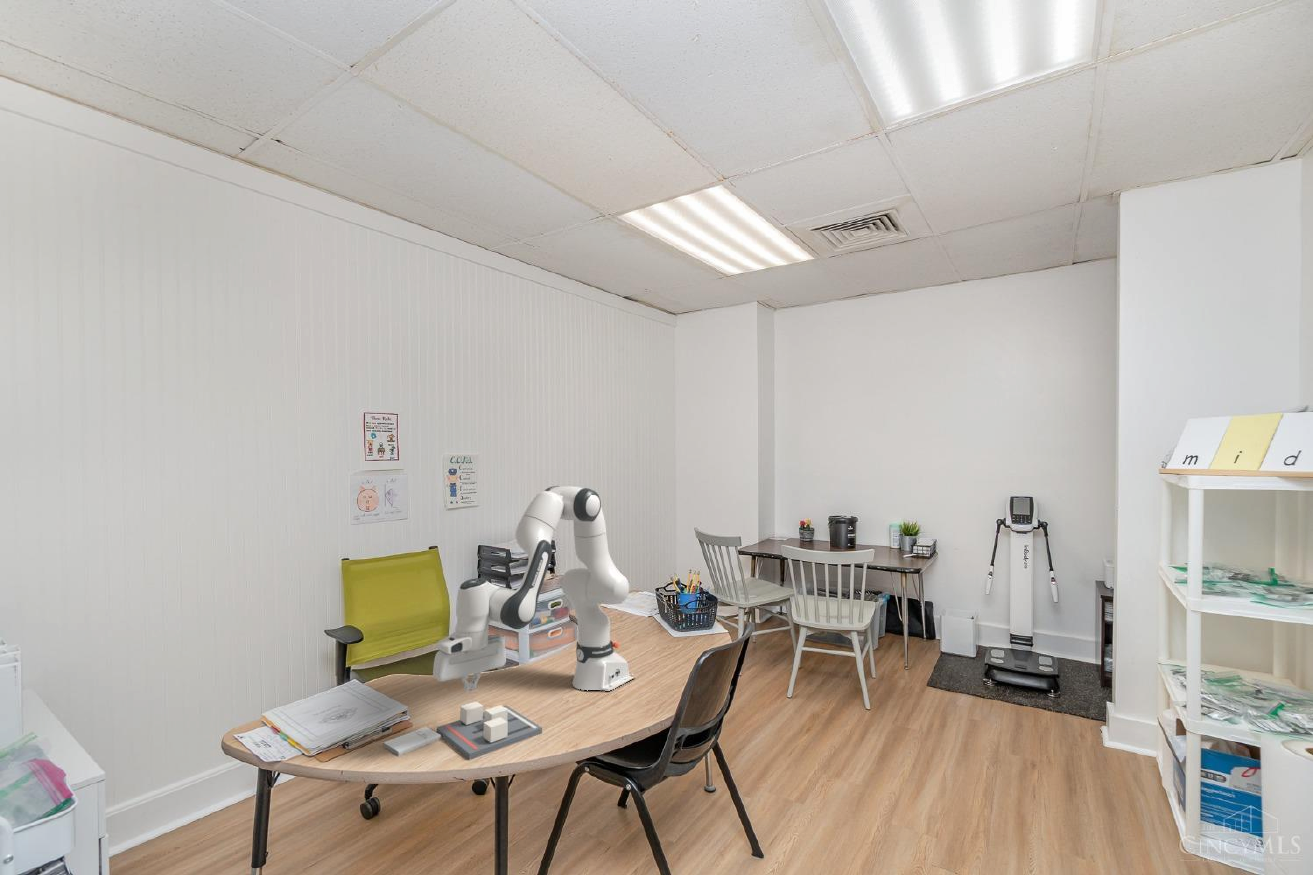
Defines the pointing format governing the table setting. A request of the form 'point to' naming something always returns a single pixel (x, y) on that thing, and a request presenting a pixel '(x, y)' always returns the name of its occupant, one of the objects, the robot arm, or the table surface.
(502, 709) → the block
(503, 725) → the block
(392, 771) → the table surface
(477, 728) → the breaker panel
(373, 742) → the table surface
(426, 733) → the external hard drive
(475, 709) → the block
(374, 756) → the table surface
